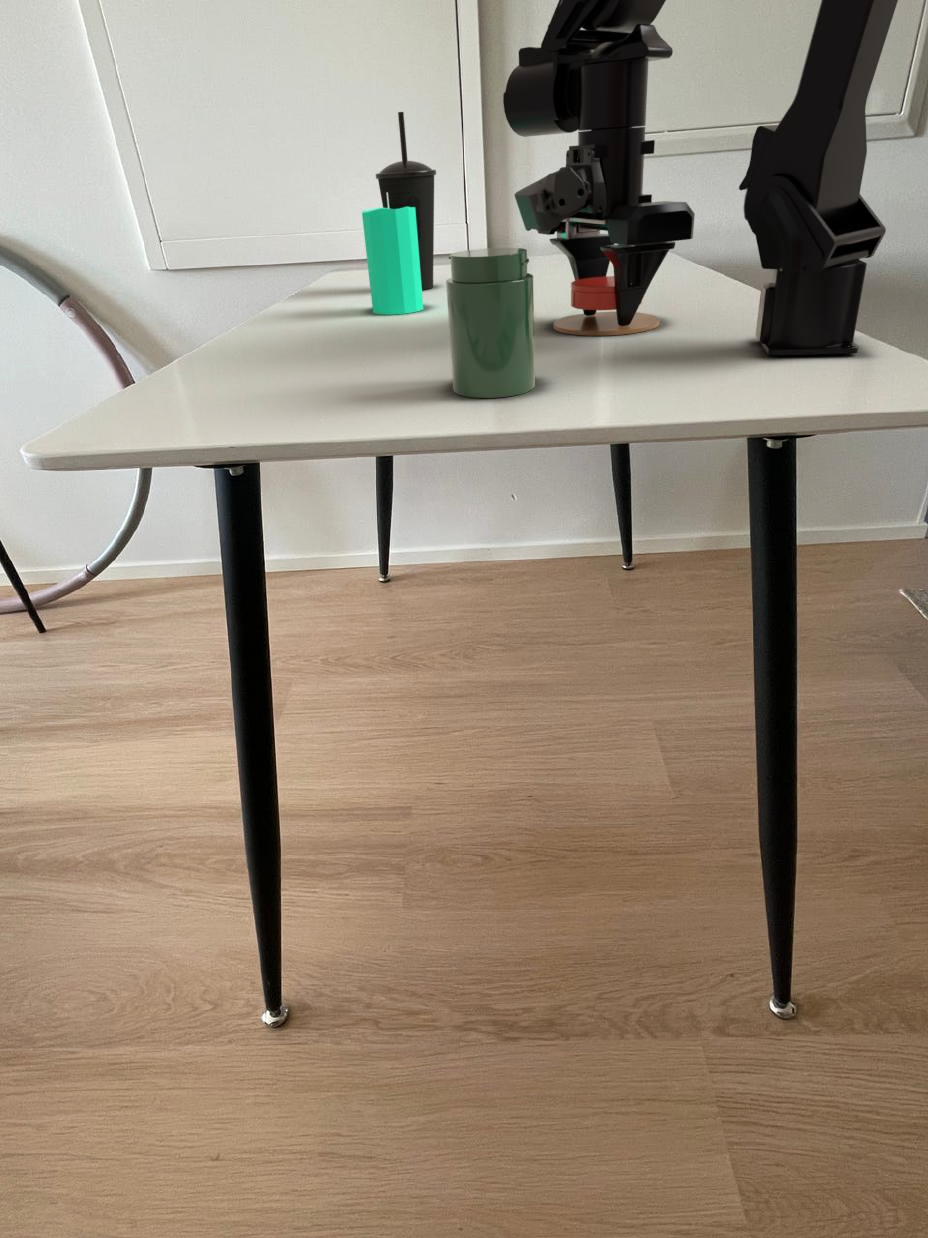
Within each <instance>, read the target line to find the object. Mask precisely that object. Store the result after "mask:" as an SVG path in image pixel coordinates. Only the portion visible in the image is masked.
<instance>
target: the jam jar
mask: <svg viewBox="0 0 928 1238" xmlns="http://www.w3.org/2000/svg"><path fill="white" fill-rule="evenodd" d="M448 260H450V271H451V277H450V278H448V279H446V281H445V285H446V301H447V302H446V303H447V315H448V328H449V331H448V332H449V342H450V344H449V345H450V346H449V347H450V360H451V374H452V376H451V377H452V390H453V392H454V393H455V394H456V395H459V396H461V397H462V396H463V397H467V398H474V399H496V398H497V399H499V398H507V397H513V396H519V395H522V394H525V393H528V392H530V391H531V390H533V389H534V388H535V386H536V376H535V375H536V370H535V369H536V367H535V303H534V300H535V299H534V296H535V295H534V275H533V274H532V273H529V272H528V265H529V263H530V259H529V258H528V250H527V249H526V248H522V247H521V248H520V247H489V248H478V249H477V248H475V249H468V250H462V251H457V252H453V253H451V254H449V256H448Z"/></svg>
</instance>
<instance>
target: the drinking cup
mask: <svg viewBox="0 0 928 1238" xmlns="http://www.w3.org/2000/svg"><path fill="white" fill-rule="evenodd" d="M397 117H398V128H399V129H398V130H399V141H400V152H401V161H395V162H393V163H391V164H388V165H387V166H385V167H383V169H381V171H380V172H377V173H375V179H376V180H377V181H378V187H379V192H380V198H381V205H382V207H383V208H388V204H387V194H386V193H387V192H388V201H389V209H399V208H404V207H415V211H416V224H417V236H418V248H419V260H420V273H421V285H422V291H425V290H430V289H433V288H434V249H435V247H434V246H435V245H434V240H435V239H434V238H435V237H434V236H435V235H434V234H435V176H436V175H437V170H436V169H432V168H431V167H430V166H428V165H427V164H425V163H422V162H419V161H416V160H415V161H414V160H408V149H407V137H406V126H405V113H404V111H398V112H397Z"/></svg>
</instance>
